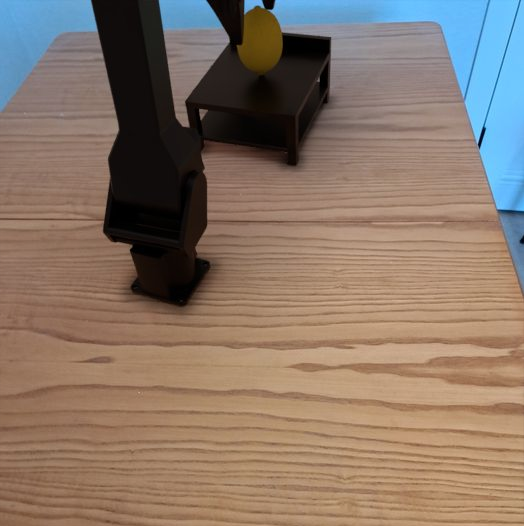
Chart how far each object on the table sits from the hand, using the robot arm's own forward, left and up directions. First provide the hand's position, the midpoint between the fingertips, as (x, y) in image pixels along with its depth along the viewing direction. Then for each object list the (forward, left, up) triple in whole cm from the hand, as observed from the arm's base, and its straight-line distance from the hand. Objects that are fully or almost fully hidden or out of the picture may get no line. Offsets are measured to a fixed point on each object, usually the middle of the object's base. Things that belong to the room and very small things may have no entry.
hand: (254, 26), depth 68 cm
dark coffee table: (0, 0, -13) cm, 13 cm away
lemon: (0, 0, -6) cm, 6 cm away
